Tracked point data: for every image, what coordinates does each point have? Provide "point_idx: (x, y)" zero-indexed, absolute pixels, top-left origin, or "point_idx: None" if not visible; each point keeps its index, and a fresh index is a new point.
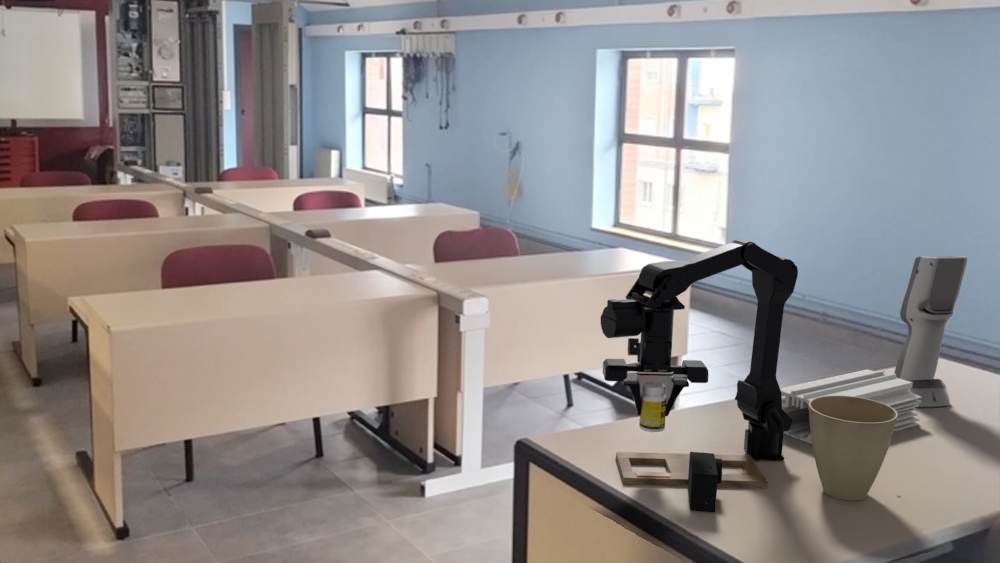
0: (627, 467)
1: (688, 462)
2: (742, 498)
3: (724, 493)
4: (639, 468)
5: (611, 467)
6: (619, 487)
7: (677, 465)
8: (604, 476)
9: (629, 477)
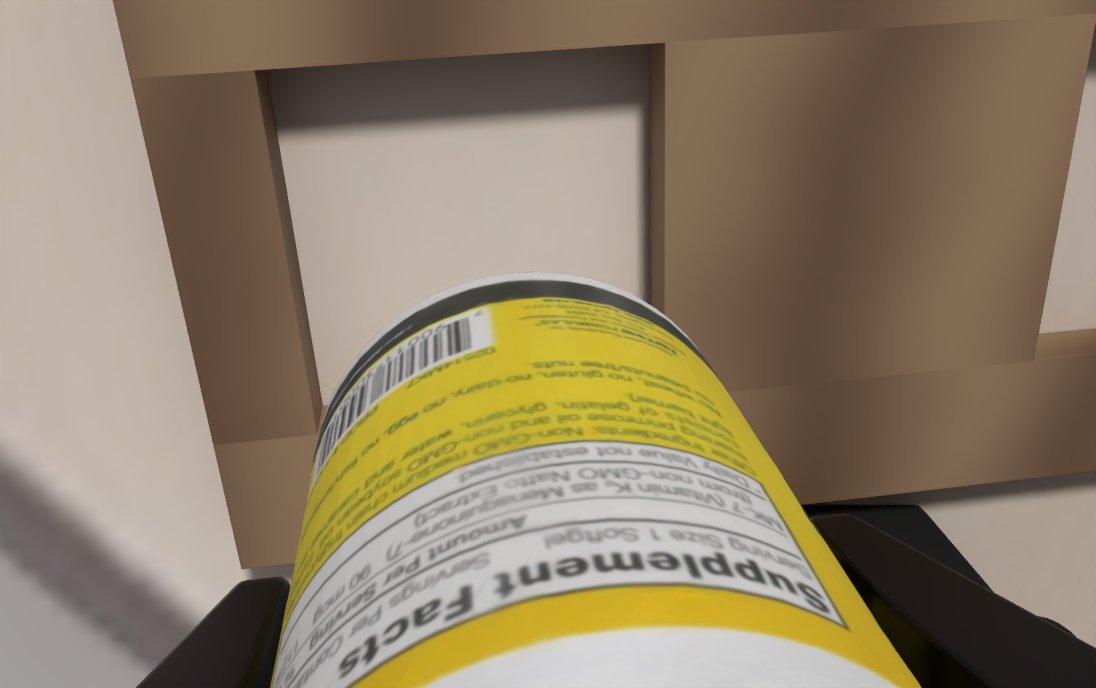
0: (260, 344)
1: (885, 120)
2: (1076, 604)
3: (989, 553)
4: (386, 170)
5: (97, 184)
6: (223, 594)
7: (758, 216)
8: (63, 411)
9: (291, 557)
